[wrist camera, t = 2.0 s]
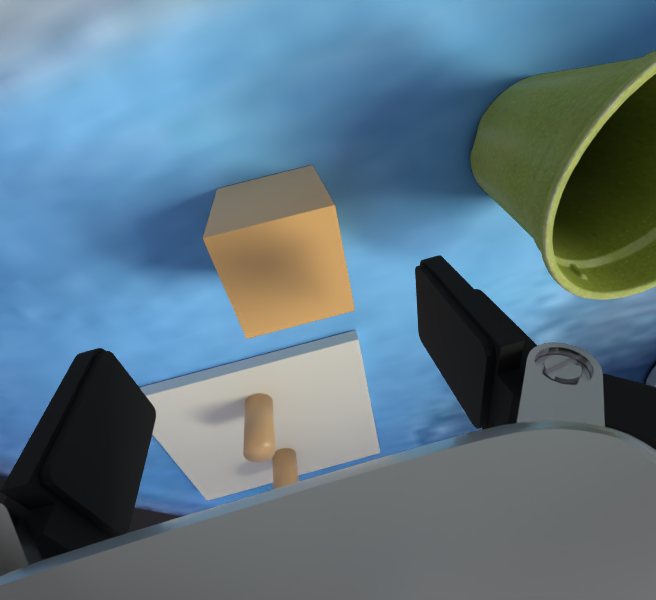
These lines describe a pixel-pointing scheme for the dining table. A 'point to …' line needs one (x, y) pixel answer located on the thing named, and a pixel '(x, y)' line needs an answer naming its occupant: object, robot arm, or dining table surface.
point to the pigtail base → (297, 412)
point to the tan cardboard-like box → (279, 251)
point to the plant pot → (579, 172)
